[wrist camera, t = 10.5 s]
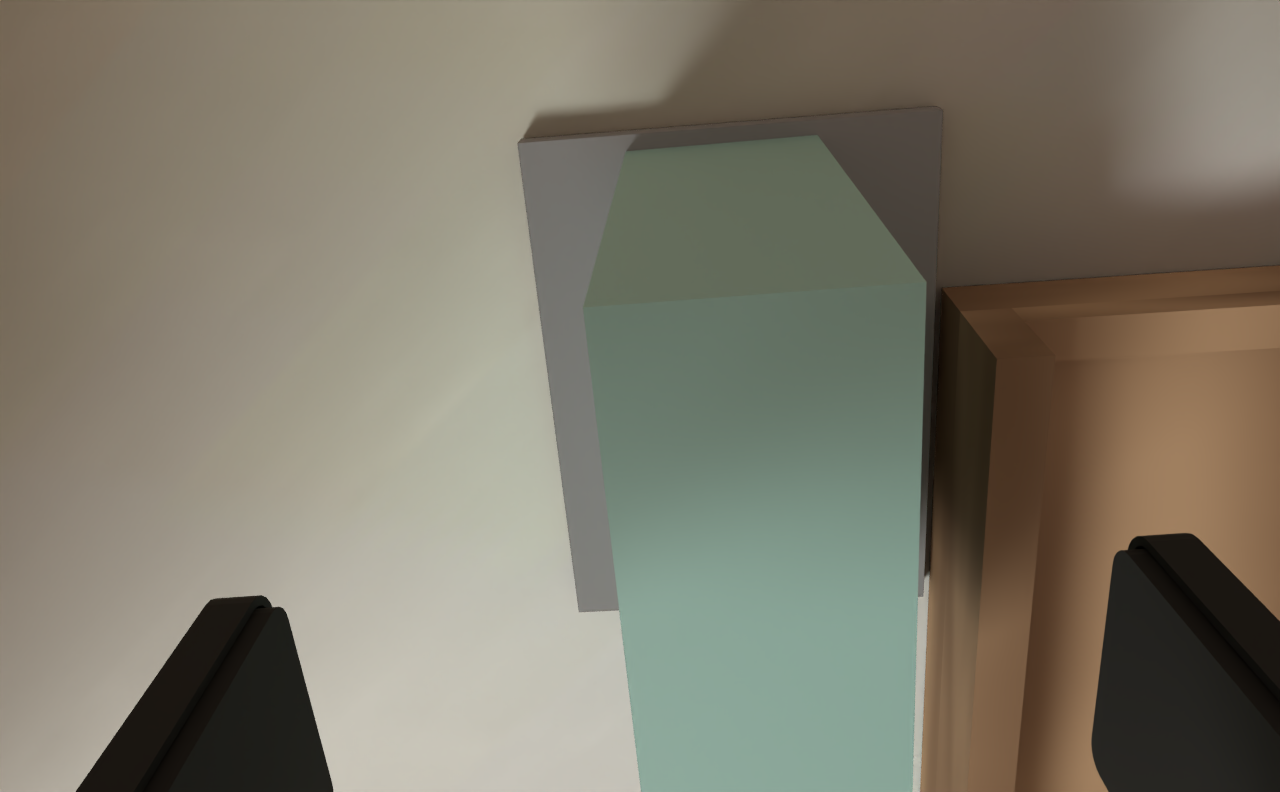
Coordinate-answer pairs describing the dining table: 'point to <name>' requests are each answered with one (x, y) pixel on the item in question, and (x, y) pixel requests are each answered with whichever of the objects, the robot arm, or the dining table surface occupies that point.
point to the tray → (1082, 494)
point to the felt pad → (570, 239)
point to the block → (760, 468)
